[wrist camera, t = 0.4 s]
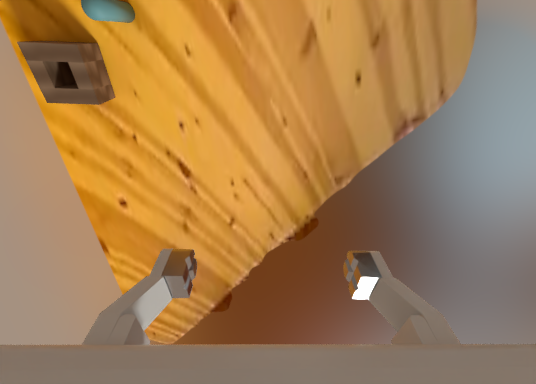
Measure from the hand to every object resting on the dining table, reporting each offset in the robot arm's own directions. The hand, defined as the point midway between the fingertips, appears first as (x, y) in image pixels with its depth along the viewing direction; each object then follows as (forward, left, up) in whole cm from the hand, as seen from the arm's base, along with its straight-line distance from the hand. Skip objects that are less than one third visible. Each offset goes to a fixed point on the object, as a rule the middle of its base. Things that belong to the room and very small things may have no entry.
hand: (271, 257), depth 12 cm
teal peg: (-12, -26, -46) cm, 54 cm away
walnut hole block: (-2, -38, -46) cm, 59 cm away
